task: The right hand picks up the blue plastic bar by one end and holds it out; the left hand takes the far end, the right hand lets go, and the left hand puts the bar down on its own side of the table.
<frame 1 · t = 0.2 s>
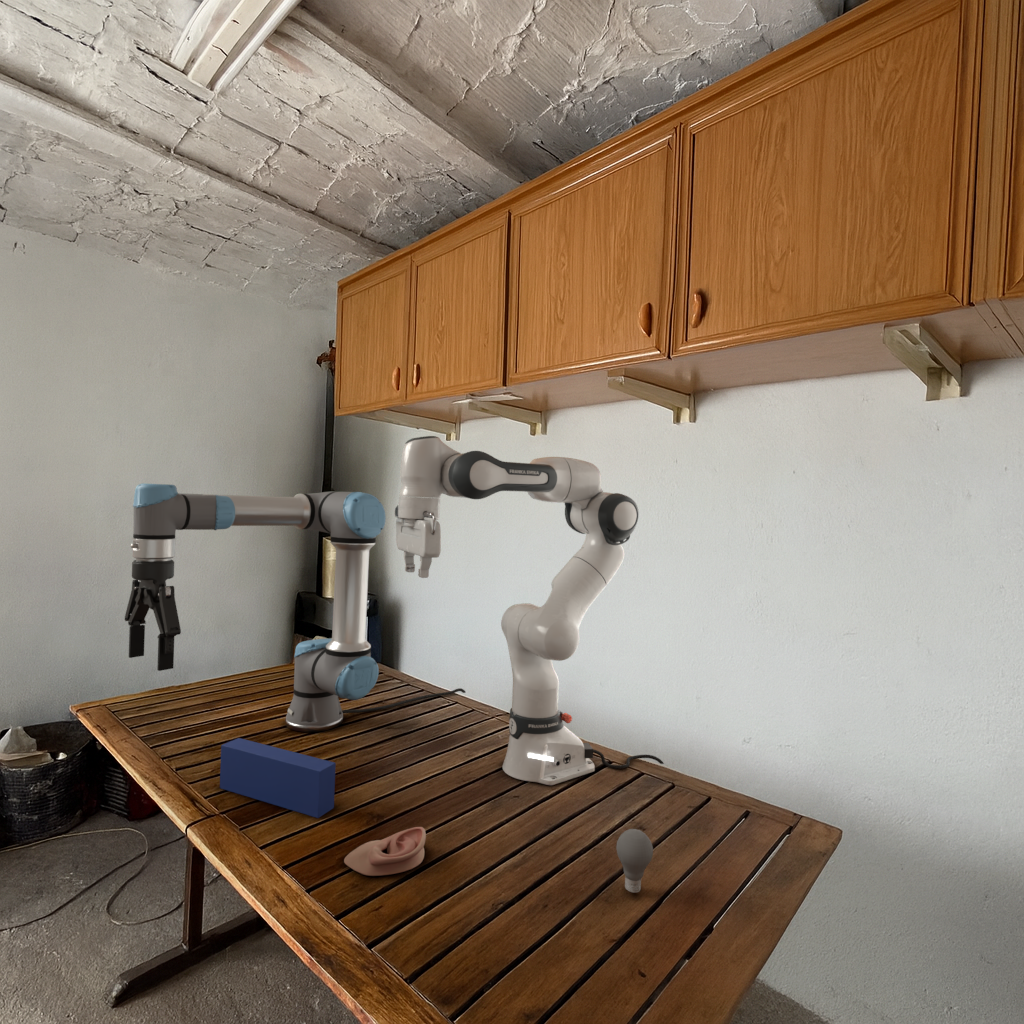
left hand: (150, 662, 130), 28 cm above the table, tool pointing down, fingers open, 13 cm apart
right hand: (416, 574, 137), 47 cm above the table, tool pointing down, fingers open, 8 cm apart
fossil: (329, 680, 217), on the table
anatomical model: (385, 859, 112), on the table
light bulb: (632, 891, 106), on the table
bar: (275, 797, 132), on the table
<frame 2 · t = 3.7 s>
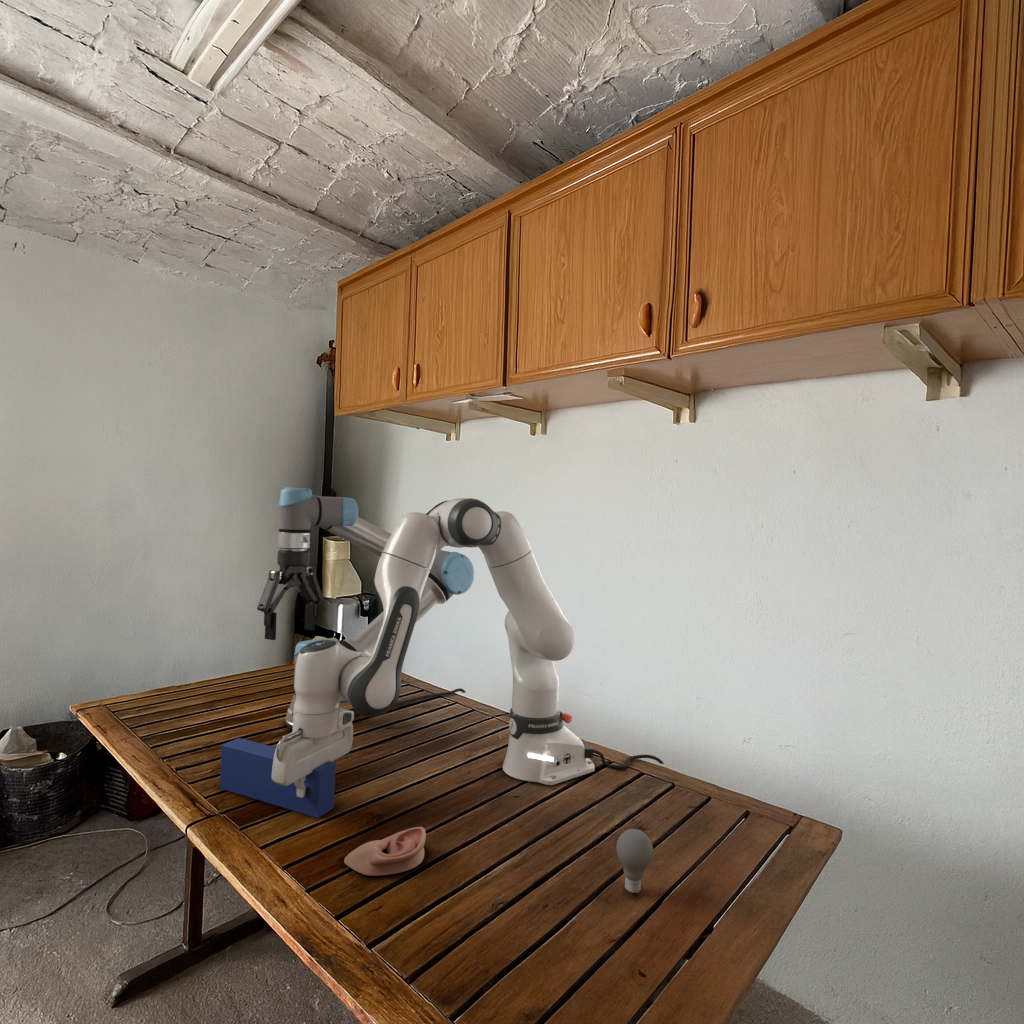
left hand: (290, 634, 158), 28 cm above the table, tool pointing down, fingers open, 13 cm apart
right hand: (313, 789, 129), 4 cm above the table, tool pointing down, fingers closed on bar, 5 cm apart
bar: (275, 797, 132), on the table, touching right hand
everything else where it was.
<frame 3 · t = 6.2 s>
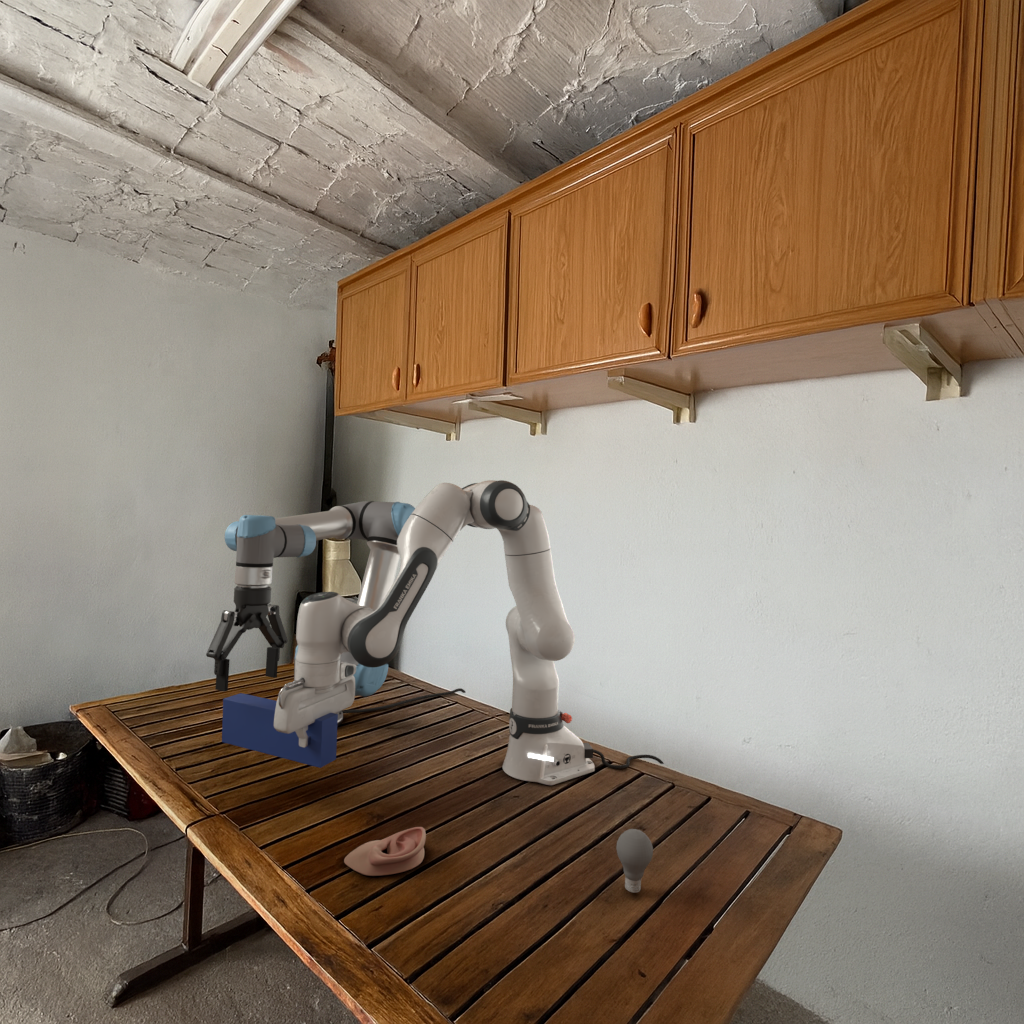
left hand: (247, 683, 138), 22 cm above the table, tool pointing down, fingers open, 13 cm apart
right hand: (315, 740, 128), 14 cm above the table, tool pointing down, fingers closed on bar, 5 cm apart
bar: (277, 750, 132), point 10 cm above the table, touching right hand
everything else where it was.
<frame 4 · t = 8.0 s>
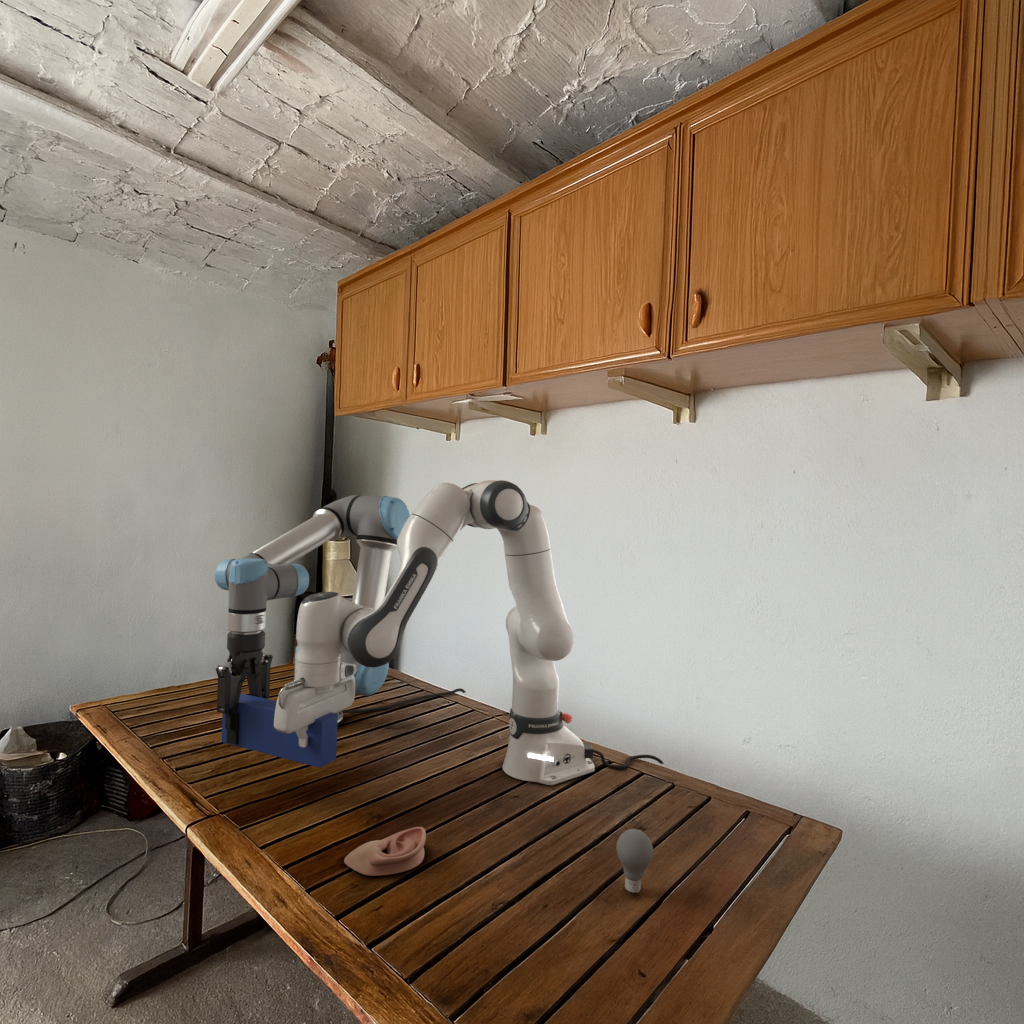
left hand: (242, 738, 136), 11 cm above the table, tool pointing down, fingers closed on bar, 5 cm apart
right hand: (315, 740, 128), 14 cm above the table, tool pointing down, fingers closed on bar, 5 cm apart
bar: (277, 750, 132), point 10 cm above the table, touching left hand, right hand
everything else where it was.
when the right hand's fingers open (14 cm above the table, at t = 8.9 s): bar stays where it is, held by the left hand.
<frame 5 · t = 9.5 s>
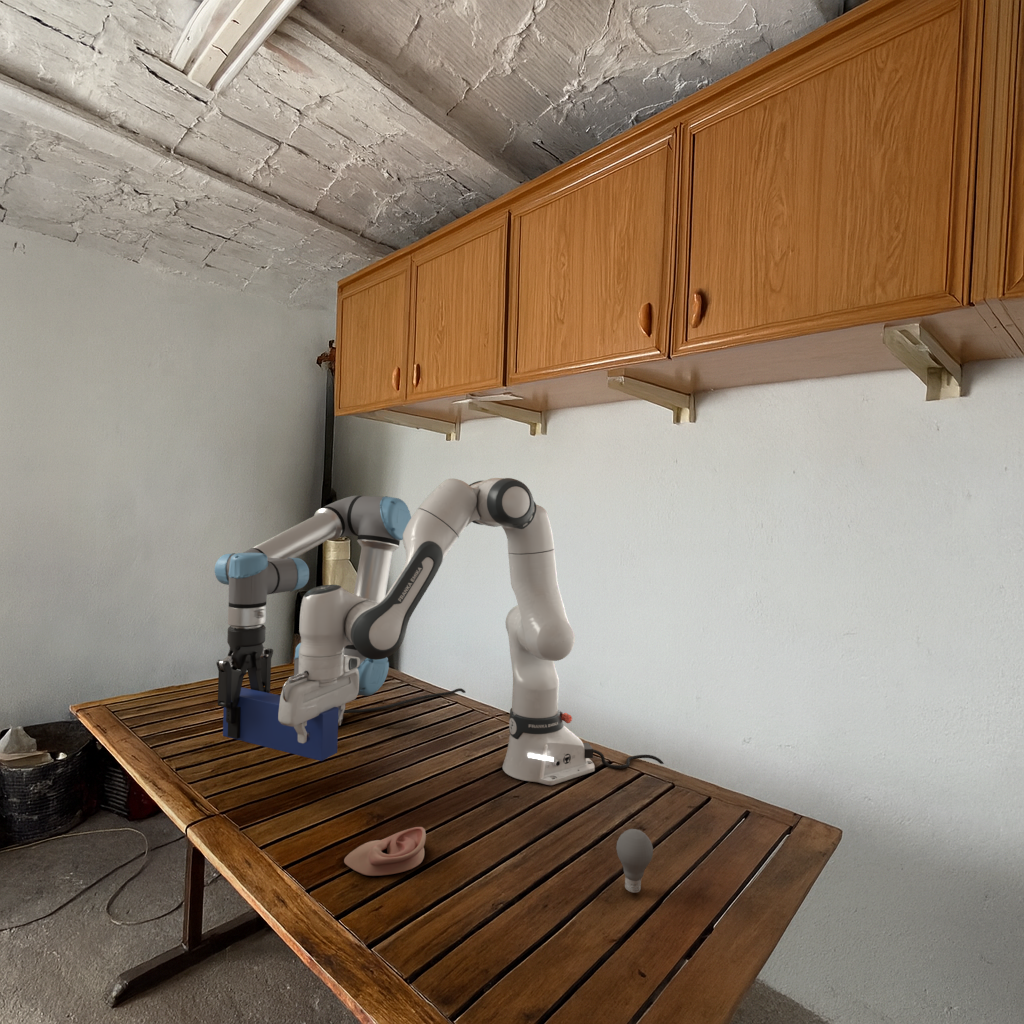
left hand: (243, 732, 136), 12 cm above the table, tool pointing down, fingers closed on bar, 5 cm apart
right hand: (320, 733, 128), 15 cm above the table, tool pointing down, fingers open, 8 cm apart
bar: (278, 744, 133), point 11 cm above the table, touching left hand
everything else where it was.
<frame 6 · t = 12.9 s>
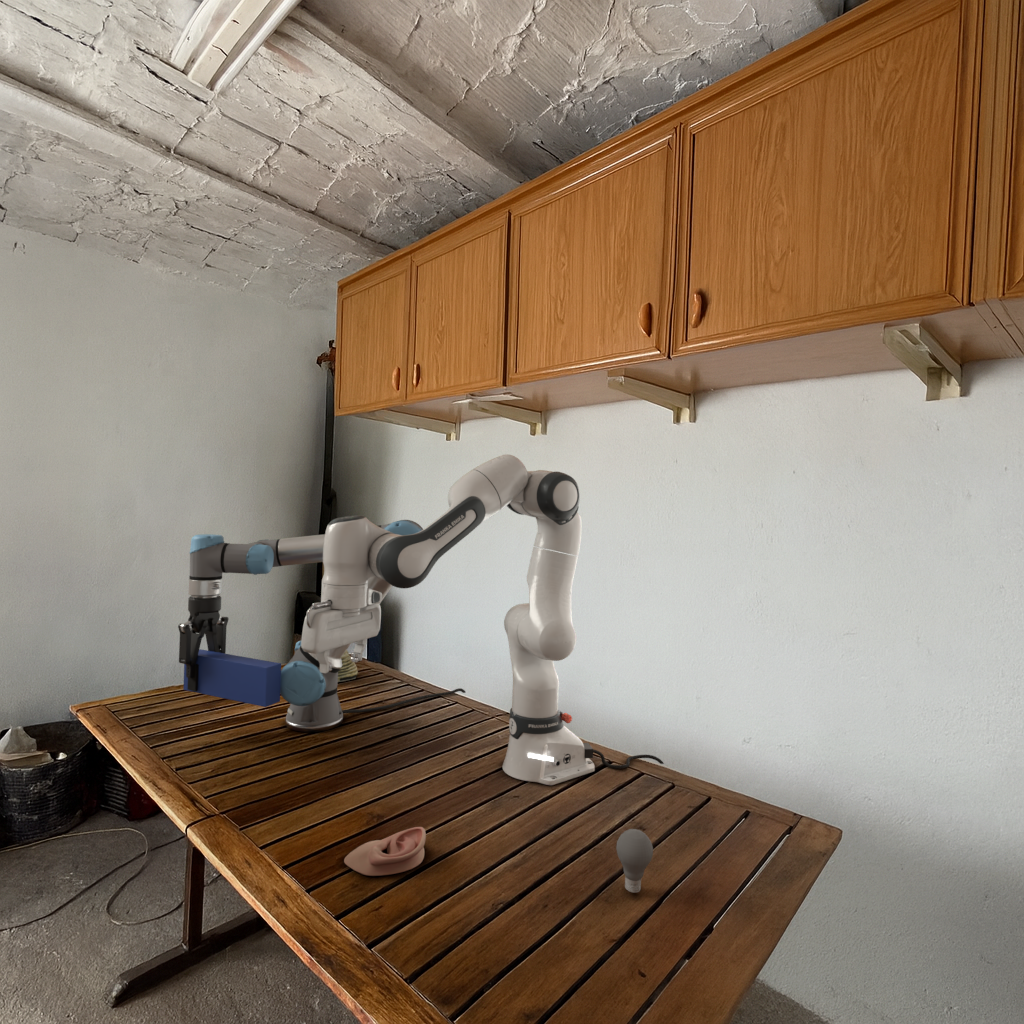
left hand: (201, 687, 160), 14 cm above the table, tool pointing down, fingers closed on bar, 5 cm apart
right hand: (341, 666, 126), 30 cm above the table, tool pointing down, fingers open, 8 cm apart
bar: (230, 695, 157), point 13 cm above the table, touching left hand
everything else where it was.
when the left hand's fingers open (2 cm above the table, at t = 17.7 s): bar drops 1 cm, on the table.
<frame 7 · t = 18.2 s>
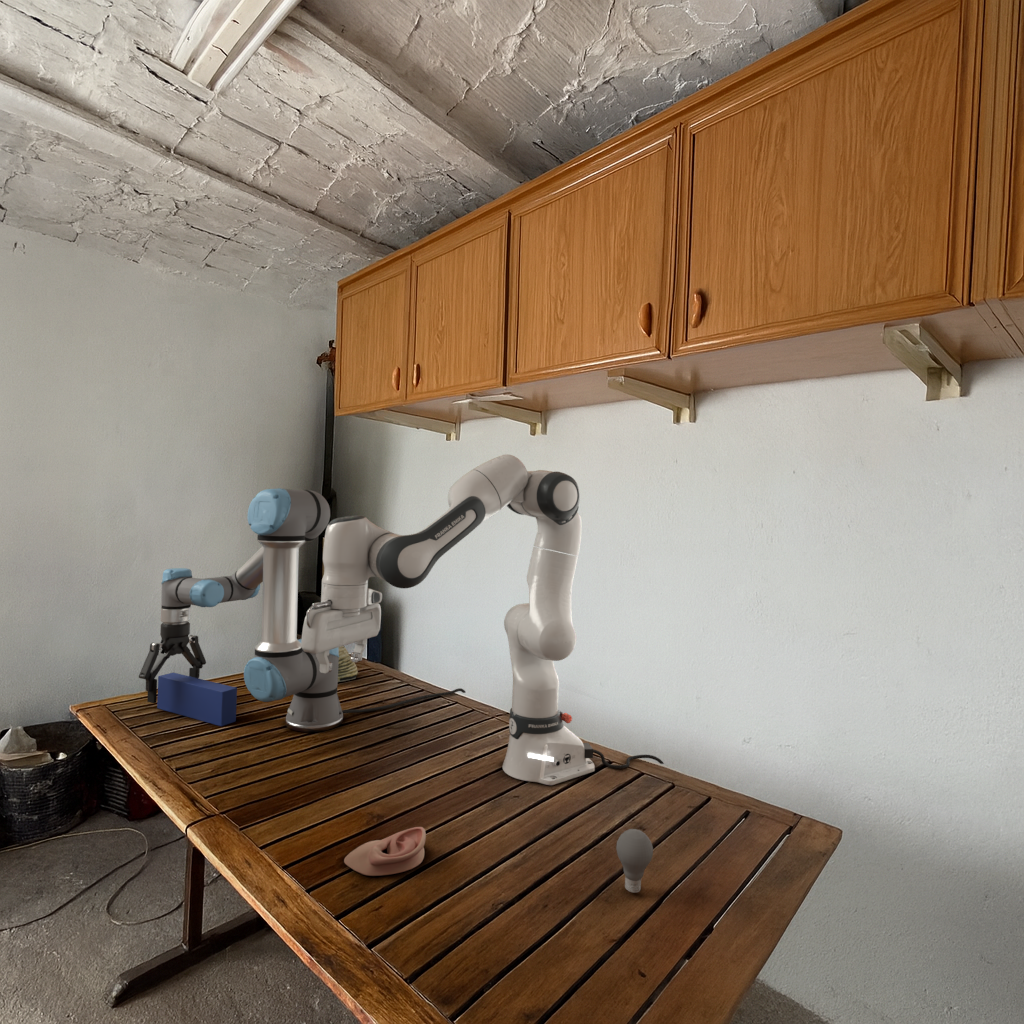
left hand: (173, 696, 183), 4 cm above the table, tool pointing down, fingers open, 12 cm apart
right hand: (341, 666, 126), 30 cm above the table, tool pointing down, fingers open, 8 cm apart
bar: (195, 714, 179), on the table
everything else where it was.
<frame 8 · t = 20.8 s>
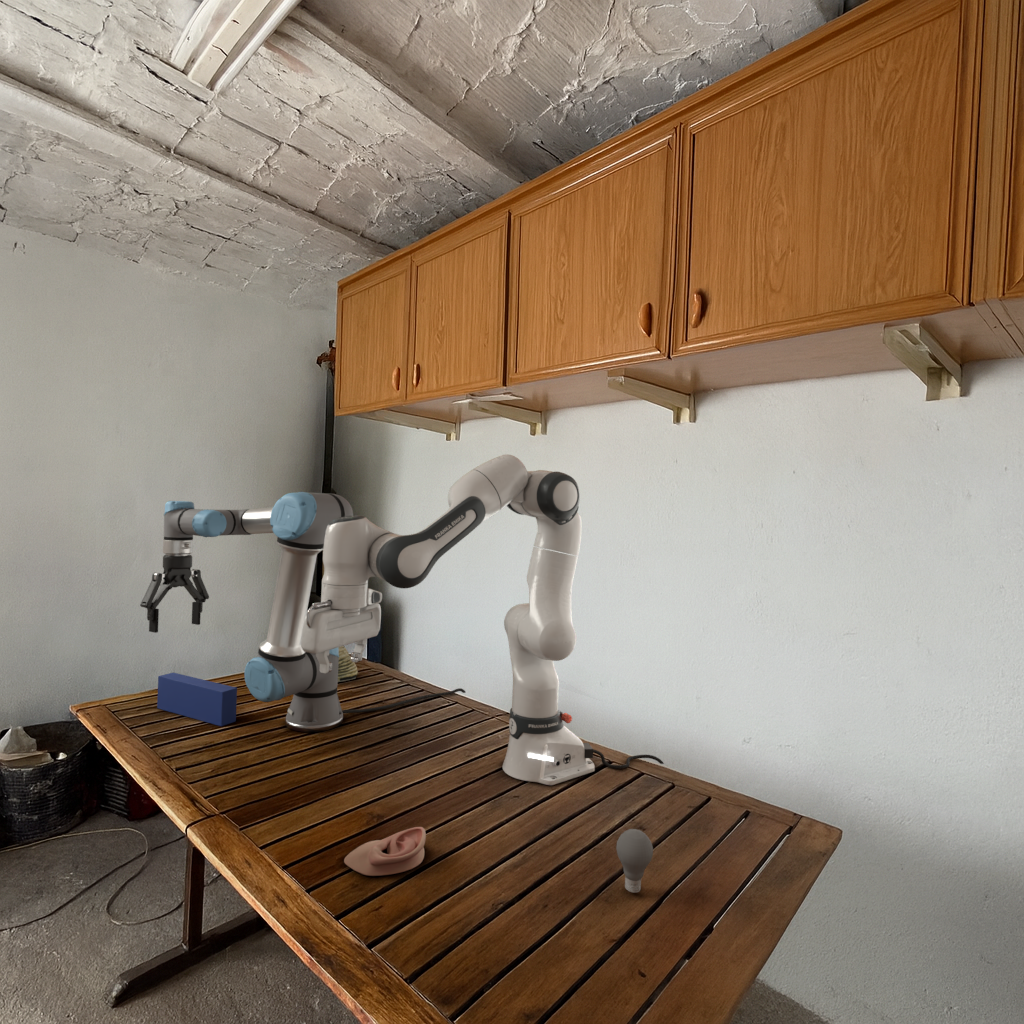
left hand: (175, 628, 183), 23 cm above the table, tool pointing down, fingers open, 13 cm apart
right hand: (341, 666, 126), 30 cm above the table, tool pointing down, fingers open, 8 cm apart
nothing on the table moved.
at the end: bar inside the target area (9.9 cm from its centre), on the table; the left hand is holding nothing; the right hand is holding nothing; bar at rest at the end (0.0 cm/s) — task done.
